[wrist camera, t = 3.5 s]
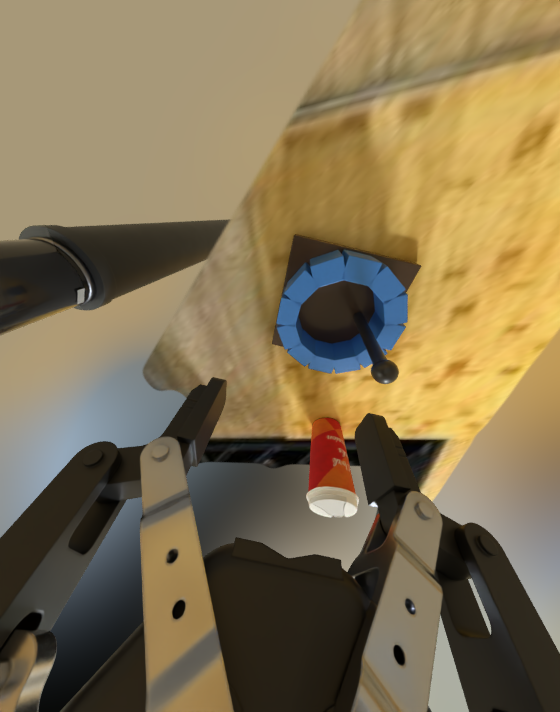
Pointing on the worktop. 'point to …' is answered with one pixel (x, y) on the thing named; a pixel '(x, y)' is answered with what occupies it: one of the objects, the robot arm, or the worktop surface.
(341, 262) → the blue notched ring
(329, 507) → the paper cup
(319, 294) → the brown peg stand
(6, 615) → the robot arm
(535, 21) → the worktop surface
